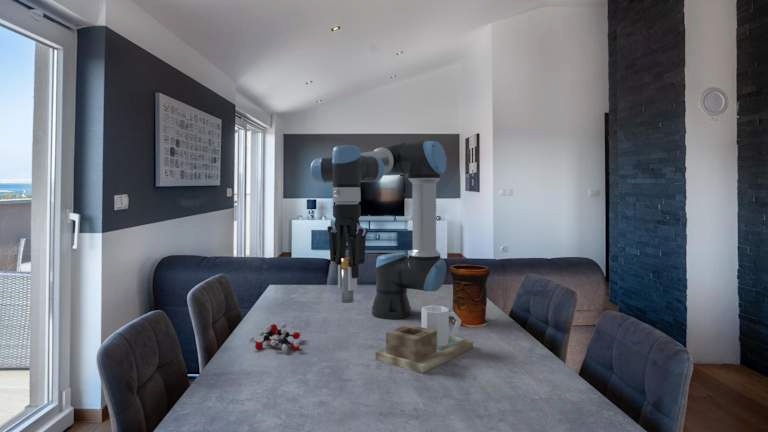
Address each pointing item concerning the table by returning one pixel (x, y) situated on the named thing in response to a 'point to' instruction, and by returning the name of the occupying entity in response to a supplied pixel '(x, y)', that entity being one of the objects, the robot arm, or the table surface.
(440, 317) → the mug
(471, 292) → the vessel
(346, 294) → the cylindrical pin
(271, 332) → the molecular model
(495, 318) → the table surface
